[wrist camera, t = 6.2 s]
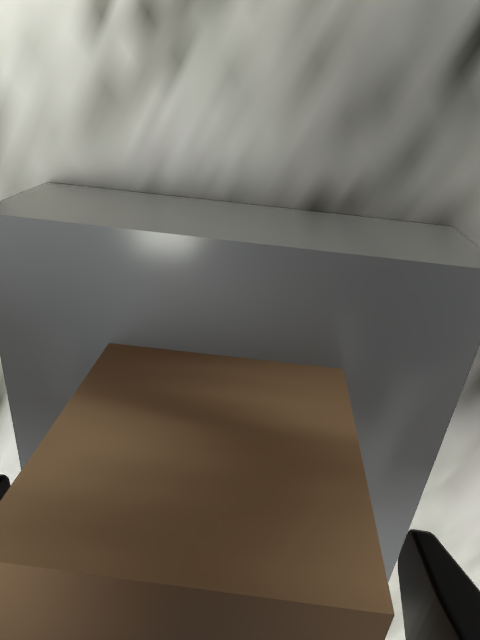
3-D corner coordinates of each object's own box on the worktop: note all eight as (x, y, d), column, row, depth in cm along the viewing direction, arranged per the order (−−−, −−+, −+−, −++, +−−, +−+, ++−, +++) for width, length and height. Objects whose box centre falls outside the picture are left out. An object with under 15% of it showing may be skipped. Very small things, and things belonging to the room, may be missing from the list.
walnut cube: (120, 505, 12) (24, 750, 8) (108, 342, 10) (-38, 556, 5) (308, 529, 12) (323, 795, 7) (343, 368, 10) (393, 615, 5)
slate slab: (78, 474, 16) (36, 552, 13) (47, 182, 11) (-27, 212, 9) (364, 512, 16) (381, 600, 13) (453, 226, 11) (507, 271, 8)
